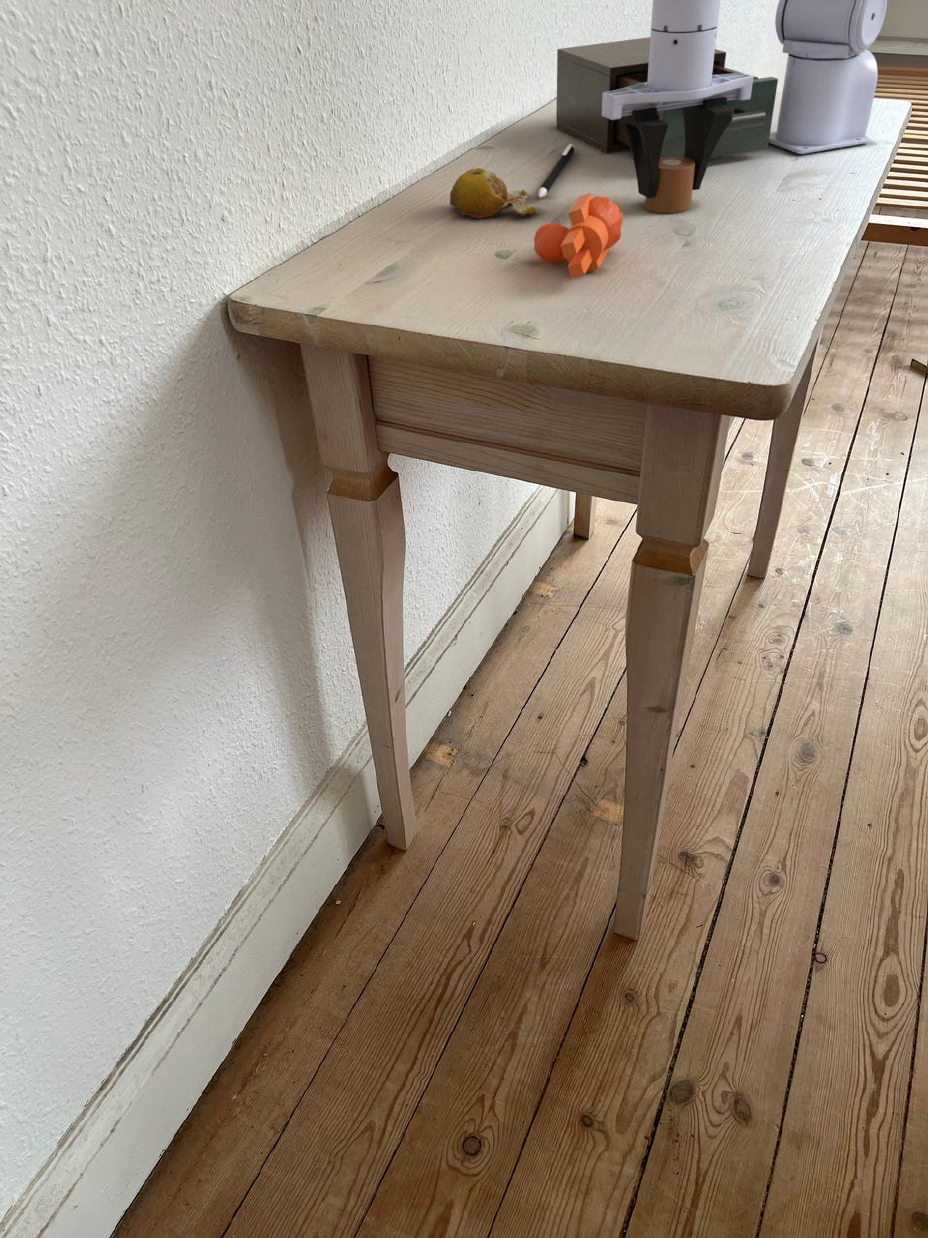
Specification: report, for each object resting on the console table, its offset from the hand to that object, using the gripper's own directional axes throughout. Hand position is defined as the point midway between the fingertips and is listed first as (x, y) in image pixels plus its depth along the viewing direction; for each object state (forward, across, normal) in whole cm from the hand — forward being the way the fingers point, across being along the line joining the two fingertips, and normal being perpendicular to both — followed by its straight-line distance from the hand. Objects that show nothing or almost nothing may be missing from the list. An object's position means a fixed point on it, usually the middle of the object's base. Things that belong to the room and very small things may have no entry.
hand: (669, 190), depth 91 cm
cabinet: (+1, -11, -27) cm, 29 cm away
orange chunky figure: (+2, +15, +10) cm, 18 cm away
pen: (+2, +5, -15) cm, 16 cm away
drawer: (0, -11, -13) cm, 17 cm away
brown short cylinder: (+1, 0, 0) cm, 1 cm away
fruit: (+2, +15, -7) cm, 17 cm away
